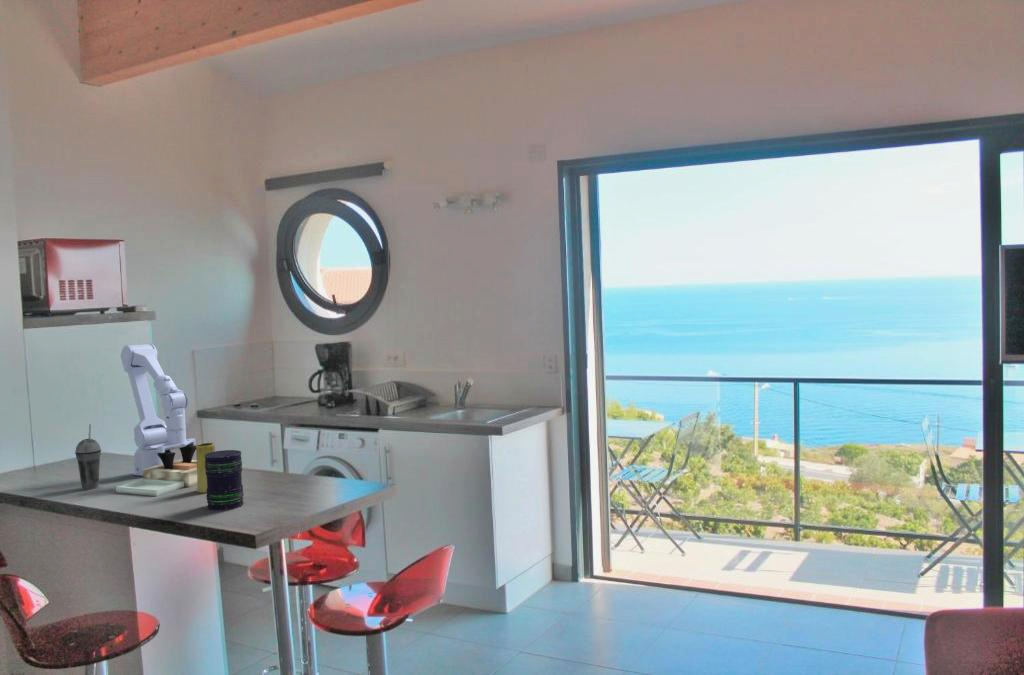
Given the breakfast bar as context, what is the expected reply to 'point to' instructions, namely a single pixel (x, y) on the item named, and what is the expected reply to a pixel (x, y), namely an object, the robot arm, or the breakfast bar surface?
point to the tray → (150, 487)
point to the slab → (183, 466)
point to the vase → (202, 465)
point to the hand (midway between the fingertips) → (178, 470)
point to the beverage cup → (88, 462)
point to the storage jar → (224, 480)
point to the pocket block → (172, 474)
